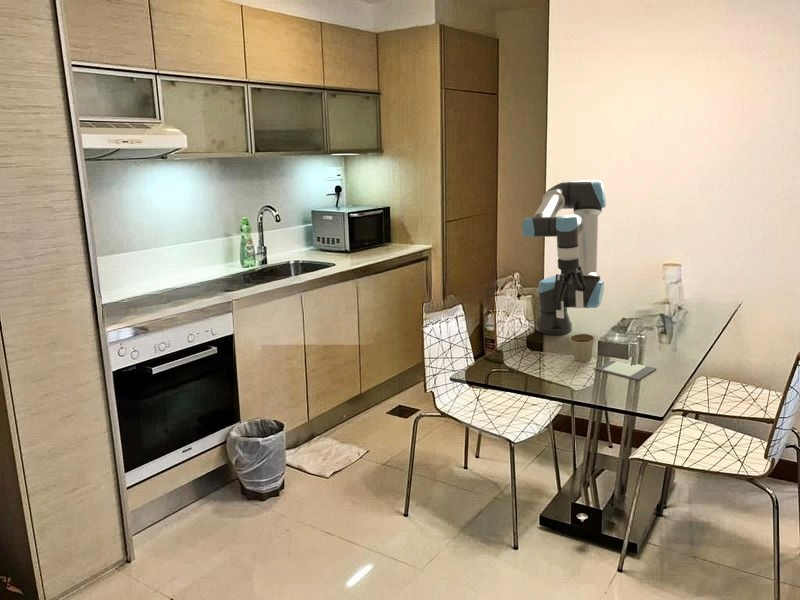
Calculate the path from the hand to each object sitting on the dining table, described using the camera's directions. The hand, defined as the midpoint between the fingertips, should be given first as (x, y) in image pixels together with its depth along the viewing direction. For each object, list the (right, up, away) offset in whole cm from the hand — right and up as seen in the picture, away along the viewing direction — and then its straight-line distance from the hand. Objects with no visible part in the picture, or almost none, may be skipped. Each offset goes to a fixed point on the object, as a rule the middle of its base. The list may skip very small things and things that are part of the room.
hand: (570, 312), depth 249 cm
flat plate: (+18, -21, -7) cm, 28 cm away
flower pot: (+6, -18, +6) cm, 20 cm away
